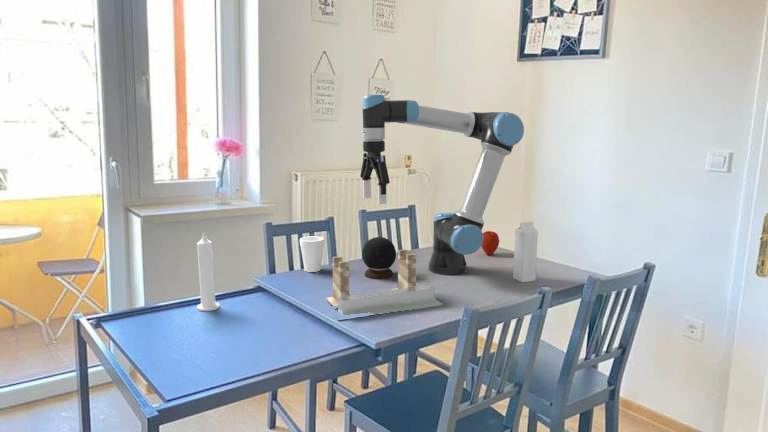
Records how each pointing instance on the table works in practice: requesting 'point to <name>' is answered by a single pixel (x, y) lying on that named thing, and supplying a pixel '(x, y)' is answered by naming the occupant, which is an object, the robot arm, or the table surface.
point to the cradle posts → (342, 275)
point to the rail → (386, 300)
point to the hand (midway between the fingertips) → (374, 201)
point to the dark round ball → (379, 258)
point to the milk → (525, 252)
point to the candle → (206, 275)
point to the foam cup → (312, 252)
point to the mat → (411, 307)
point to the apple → (490, 242)
